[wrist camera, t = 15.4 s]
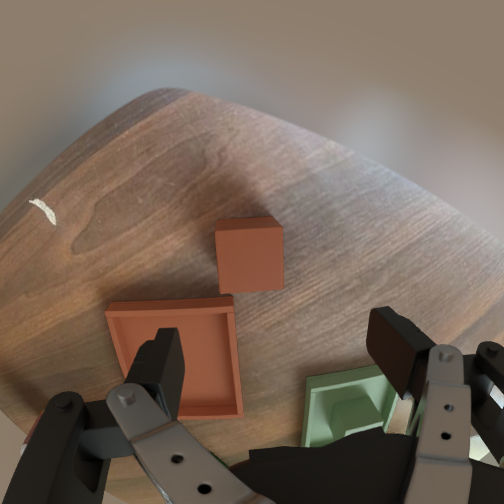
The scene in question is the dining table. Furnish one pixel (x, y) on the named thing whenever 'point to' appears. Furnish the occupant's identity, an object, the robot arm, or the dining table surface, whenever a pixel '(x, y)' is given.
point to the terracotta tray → (187, 349)
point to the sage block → (354, 417)
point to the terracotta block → (249, 254)
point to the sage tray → (343, 400)
